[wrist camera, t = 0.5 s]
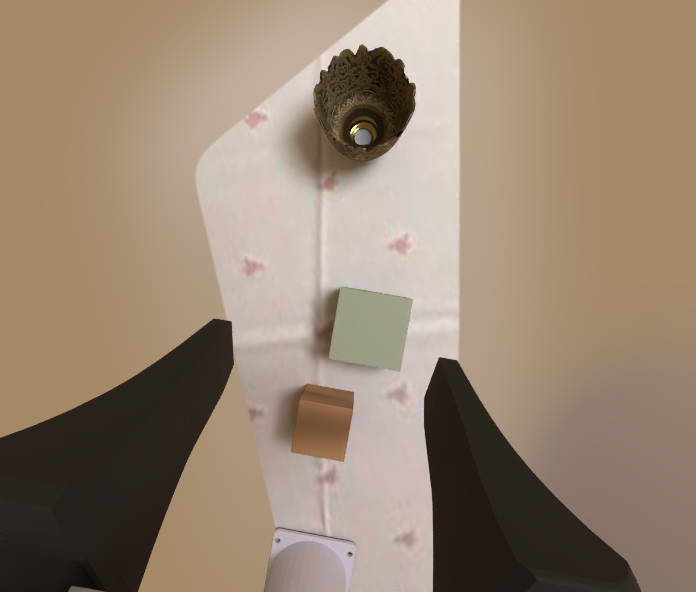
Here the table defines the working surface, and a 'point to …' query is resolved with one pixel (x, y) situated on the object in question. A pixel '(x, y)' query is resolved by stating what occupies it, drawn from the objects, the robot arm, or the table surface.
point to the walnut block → (323, 422)
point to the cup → (364, 101)
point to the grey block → (370, 328)
